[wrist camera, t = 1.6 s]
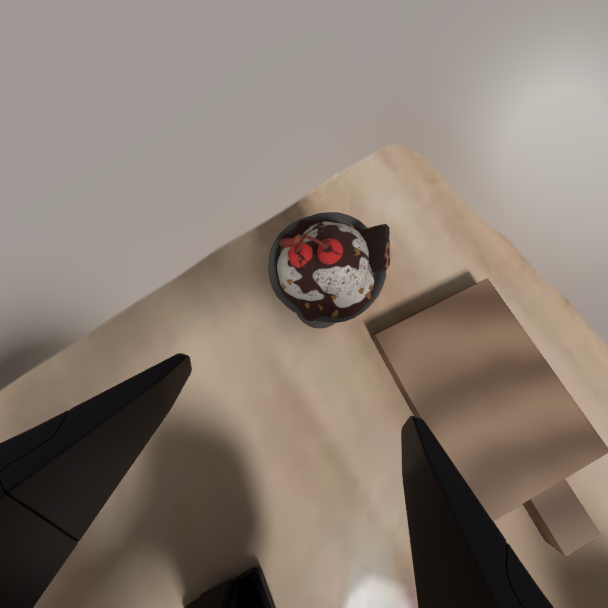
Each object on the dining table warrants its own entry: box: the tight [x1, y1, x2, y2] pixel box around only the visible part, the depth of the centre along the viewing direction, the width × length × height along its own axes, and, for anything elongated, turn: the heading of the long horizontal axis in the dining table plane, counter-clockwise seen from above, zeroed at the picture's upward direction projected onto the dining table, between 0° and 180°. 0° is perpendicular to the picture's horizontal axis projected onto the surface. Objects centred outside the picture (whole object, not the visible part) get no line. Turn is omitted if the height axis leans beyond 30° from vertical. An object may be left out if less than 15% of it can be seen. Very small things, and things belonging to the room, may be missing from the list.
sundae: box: [269, 212, 390, 328], centre depth 15 cm, size 7×7×15 cm
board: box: [371, 278, 608, 557], centre depth 20 cm, size 20×12×2 cm, turn 26°
